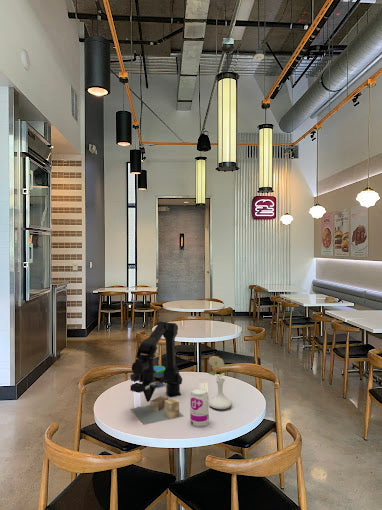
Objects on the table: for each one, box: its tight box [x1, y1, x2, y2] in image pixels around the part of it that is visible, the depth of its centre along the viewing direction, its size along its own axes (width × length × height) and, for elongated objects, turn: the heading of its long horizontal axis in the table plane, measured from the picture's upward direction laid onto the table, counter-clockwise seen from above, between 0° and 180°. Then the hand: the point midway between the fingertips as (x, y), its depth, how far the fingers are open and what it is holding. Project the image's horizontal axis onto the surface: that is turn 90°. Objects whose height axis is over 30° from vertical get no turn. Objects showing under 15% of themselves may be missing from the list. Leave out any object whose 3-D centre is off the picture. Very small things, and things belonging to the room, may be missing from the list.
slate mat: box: [130, 404, 185, 426], centre depth 184 cm, size 20×20×1 cm
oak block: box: [164, 397, 180, 420], centre depth 179 cm, size 5×5×7 cm
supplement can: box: [189, 388, 210, 428], centre depth 171 cm, size 8×8×15 cm
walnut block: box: [149, 395, 169, 411], centre depth 190 cm, size 4×5×8 cm
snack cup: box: [154, 365, 166, 388], centre depth 224 cm, size 16×10×10 cm
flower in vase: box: [208, 355, 233, 410], centre depth 191 cm, size 13×11×25 cm
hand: (148, 401), depth 183 cm, fingers closed
